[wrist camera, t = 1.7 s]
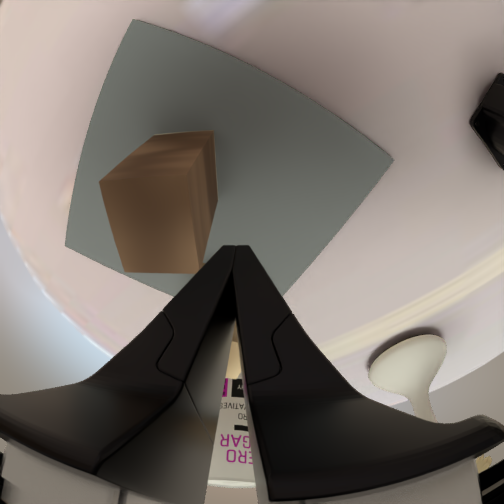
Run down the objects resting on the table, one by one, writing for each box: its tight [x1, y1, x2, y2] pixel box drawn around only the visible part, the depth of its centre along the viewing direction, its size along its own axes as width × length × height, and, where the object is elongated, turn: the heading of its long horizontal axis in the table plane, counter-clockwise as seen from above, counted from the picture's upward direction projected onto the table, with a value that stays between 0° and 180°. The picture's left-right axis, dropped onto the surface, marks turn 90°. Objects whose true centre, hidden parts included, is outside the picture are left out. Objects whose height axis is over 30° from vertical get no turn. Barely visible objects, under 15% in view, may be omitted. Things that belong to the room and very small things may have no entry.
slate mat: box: [65, 19, 394, 297], centre depth 21 cm, size 20×20×1 cm
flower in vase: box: [368, 334, 492, 473], centre depth 23 cm, size 13×11×25 cm
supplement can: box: [207, 373, 256, 488], centre depth 29 cm, size 8×8×15 cm
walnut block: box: [99, 130, 218, 274], centre depth 16 cm, size 4×5×8 cm
